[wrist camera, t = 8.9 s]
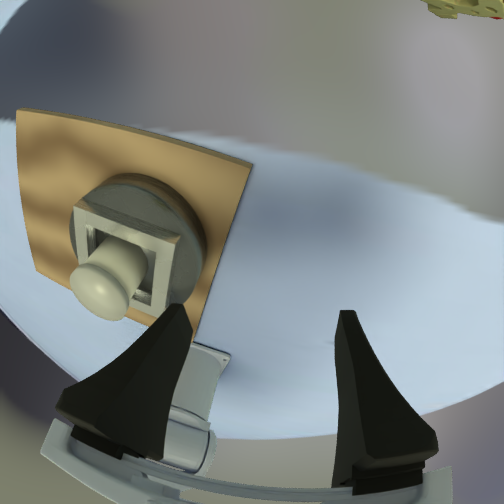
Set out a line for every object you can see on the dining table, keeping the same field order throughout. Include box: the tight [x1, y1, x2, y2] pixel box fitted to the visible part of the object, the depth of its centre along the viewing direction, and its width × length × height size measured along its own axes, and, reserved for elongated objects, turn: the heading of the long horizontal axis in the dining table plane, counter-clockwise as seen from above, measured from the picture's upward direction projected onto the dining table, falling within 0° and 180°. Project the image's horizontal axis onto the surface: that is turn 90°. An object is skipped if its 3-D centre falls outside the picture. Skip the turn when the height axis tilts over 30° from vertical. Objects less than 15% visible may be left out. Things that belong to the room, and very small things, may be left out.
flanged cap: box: [70, 235, 148, 321], centre depth 19 cm, size 5×5×4 cm
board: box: [16, 108, 253, 343], centre depth 24 cm, size 22×24×1 cm
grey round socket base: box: [69, 173, 207, 318], centre depth 21 cm, size 12×12×4 cm
